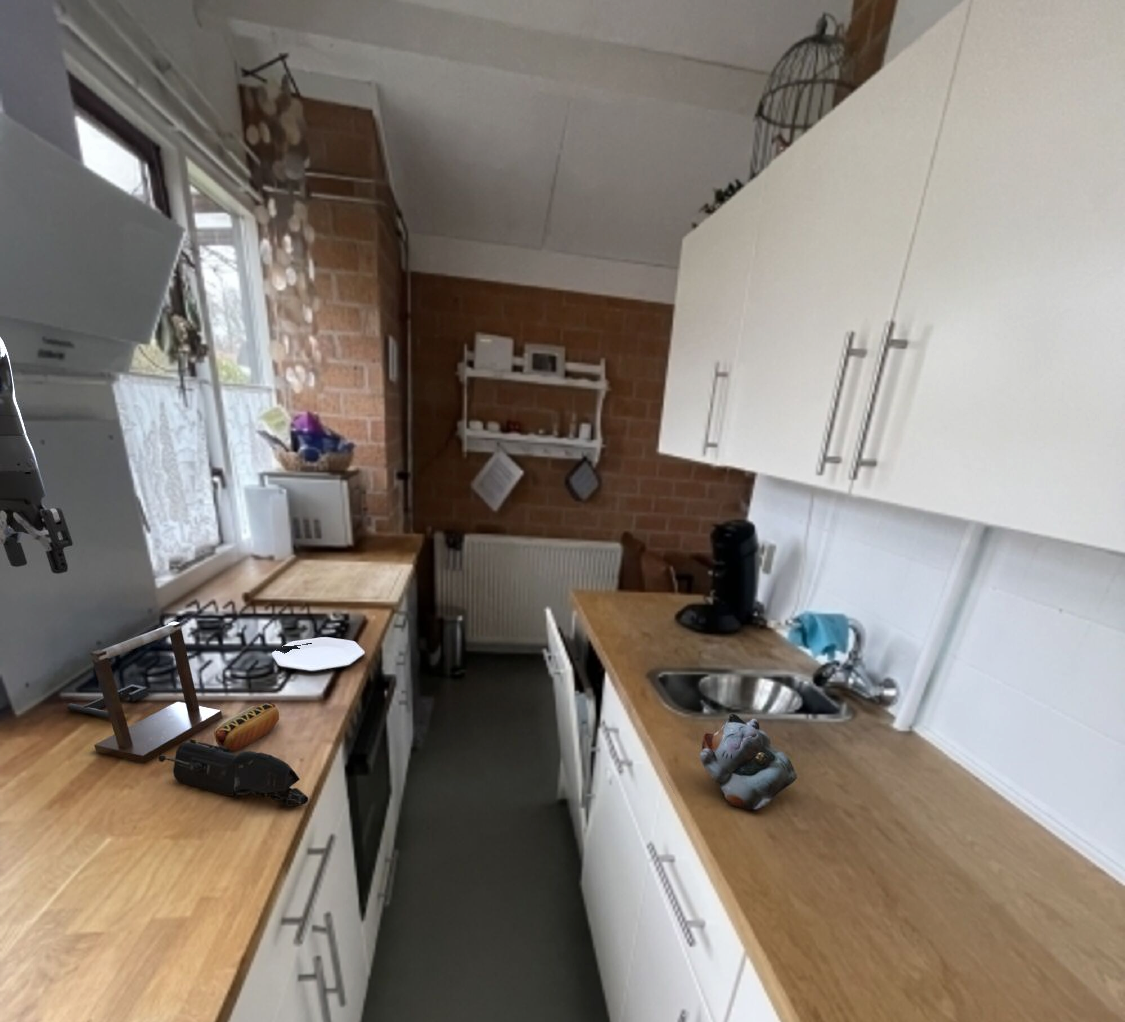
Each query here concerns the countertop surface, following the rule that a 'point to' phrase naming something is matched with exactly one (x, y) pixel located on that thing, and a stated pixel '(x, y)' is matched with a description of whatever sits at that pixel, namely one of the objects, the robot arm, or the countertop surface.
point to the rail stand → (162, 726)
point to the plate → (319, 654)
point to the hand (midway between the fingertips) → (40, 569)
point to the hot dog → (247, 726)
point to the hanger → (94, 706)
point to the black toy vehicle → (235, 772)
